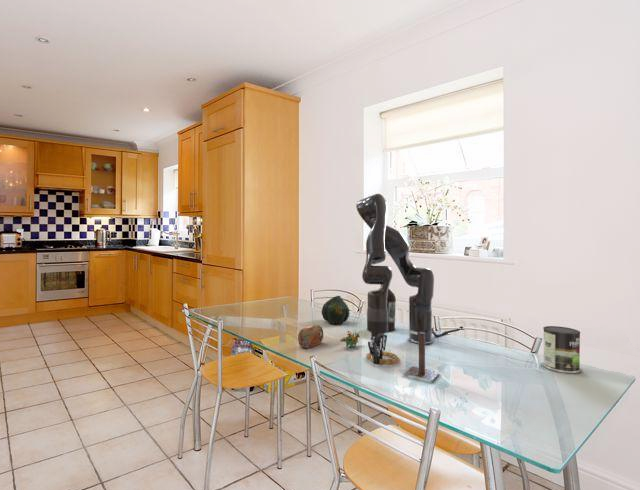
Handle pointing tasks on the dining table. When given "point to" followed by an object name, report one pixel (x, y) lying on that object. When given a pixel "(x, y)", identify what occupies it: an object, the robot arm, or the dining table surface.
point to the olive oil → (391, 310)
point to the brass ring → (385, 361)
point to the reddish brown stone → (310, 336)
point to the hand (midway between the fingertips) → (377, 364)
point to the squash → (335, 310)
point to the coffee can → (562, 349)
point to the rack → (422, 362)
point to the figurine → (351, 339)
